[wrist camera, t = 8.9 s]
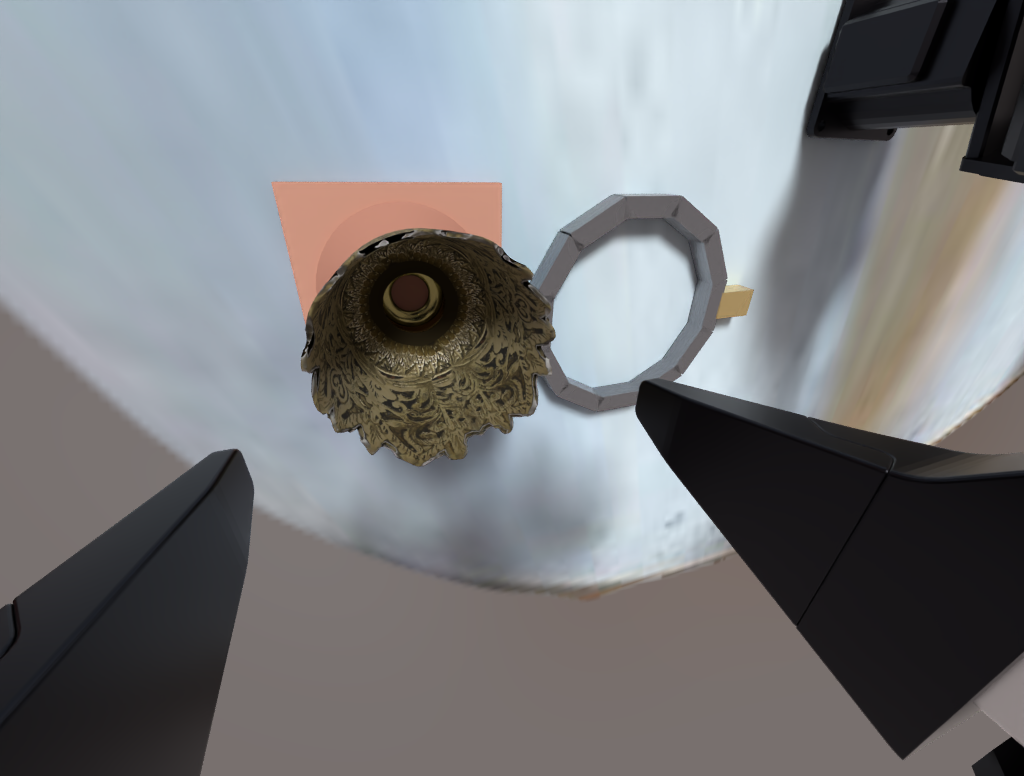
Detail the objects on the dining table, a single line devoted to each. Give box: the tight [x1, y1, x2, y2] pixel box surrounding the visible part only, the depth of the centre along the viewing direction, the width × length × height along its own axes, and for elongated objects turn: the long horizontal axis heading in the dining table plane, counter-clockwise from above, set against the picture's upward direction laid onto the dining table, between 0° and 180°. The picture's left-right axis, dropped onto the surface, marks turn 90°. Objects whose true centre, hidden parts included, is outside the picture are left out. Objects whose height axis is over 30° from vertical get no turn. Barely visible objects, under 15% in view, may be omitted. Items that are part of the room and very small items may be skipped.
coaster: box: [271, 182, 502, 324], centre depth 19 cm, size 9×9×1 cm
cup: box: [301, 228, 556, 466], centre depth 15 cm, size 8×7×8 cm
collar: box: [530, 194, 754, 412], centre depth 23 cm, size 17×12×1 cm
